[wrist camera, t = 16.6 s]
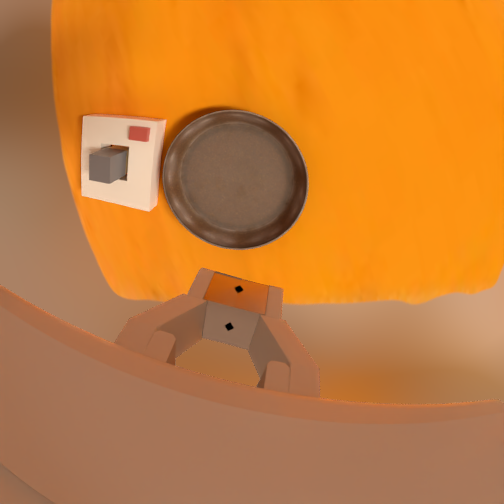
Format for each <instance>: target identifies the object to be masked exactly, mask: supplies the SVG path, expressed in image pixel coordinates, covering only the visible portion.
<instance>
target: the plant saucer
mask: <svg viewBox="0 0 504 504" xmlns="http://www.w3.org/2000/svg"><path fill="white" fill-rule="evenodd" d="M308 185H309V182H308V172H307V167H306V163H305V160H304V158H303V155H302V153H301V151H300V149H299V148H298V146H297V144H296V143H295V141H294V140H293V139H292V138H291V136H290V135H289V134H288V133H287V132H286V131H285V130H284V129H282V128H281V127H280V126H279V125H277V124H276V123H274V122H273V121H271V120H269V119H267V118H265V117H263V116H261V115H258V114H255V113H252V112H247V111H241V110H223V111H217V112H213V113H209V114H207V115H204V116H202V117H200V118H198V119H196V120H194V121H193V122H191V123H190V124H188V125H187V126H186V127H185V128H184V129H183V130H182V131H181V132H180V133H179V134H178V135H177V136H176V138H175V139H174V141H173V142H172V143H171V145H170V147H169V149H168V152H167V154H166V157H165V161H164V166H163V187H164V192H165V196H166V199H167V202H168V204H169V206H170V208H171V210H172V212H173V213H174V215H175V216H176V218H177V219H178V220H179V222H180V223H181V224H182V225H183V226H184V227H185V228H186V229H187V230H188V231H189V232H191V233H192V234H193V235H195V236H196V237H198V238H199V239H201V240H203V241H205V242H207V243H209V244H211V245H214V246H217V247H221V248H225V249H234V250H246V249H253V248H258V247H261V246H264V245H267V244H269V243H271V242H273V241H275V240H277V239H278V238H280V237H281V236H283V235H284V234H285V233H286V232H287V231H289V230H290V229H291V228H292V226H293V225H294V224H295V223H296V221H297V220H298V218H299V217H300V215H301V213H302V211H303V209H304V206H305V203H306V200H307V195H308Z"/></svg>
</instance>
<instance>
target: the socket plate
mask: <svg viewBox="0 0 504 504" xmlns="http://www.w3.org/2000/svg"><path fill="white" fill-rule="evenodd" d="M165 126H166V120H164V119H156V118H147V117H136V116H124V115H109V114H91V115H86V116H83V126H82V147H81V185H82V196H86V197H90V198H94V199H99V200H103V201H107V202H111V203H116V204H120V205H124V206H128V207H132V208H137V209H141V210H145V211H150V210H152V209H153V208H154V207H155V206H156V205H157V201H158V188H159V177H160V167H161V157H162V149H163V141H164V133H165ZM111 144H112V145H120V146H128V147H129V156H128V173H127V174H125V176H123V177H121V178H119V179H118V180H116V181H114V182H112V183H111V184H107V183H102V182H97V181H92V180H89V154H91V153H94V152H96V151H99V150H101V149H104V148H109V147H111Z"/></svg>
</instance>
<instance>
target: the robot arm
mask: <svg viewBox="0 0 504 504" xmlns="http://www.w3.org/2000/svg"><path fill="white" fill-rule="evenodd" d="M282 302H283V289H282V288H279V287H274V286H270V285H269V286H268V285H264V284H260V283H256V282H252V281H248V280H244V279H241V278H237V277H234V276H230V275H227V274H223V273H220V272H216V271H212V270H209V269H205V268H201V269H200V270H199V272H198V274H197V276H196V278H195V280H194V282H193V284H192V286H191V288H190V290H189V292H188V294H187V295H186V294H182V295H179V296H177V297H175V298H173V299H171V300H169V301H166V302H164V303H162V304H160V305H158V306H156V307H153V308H151V309H149V310H147V311H145V312H143V313H140V314H138V315H136V316H134V317H131V318H129V320H128V321H127V323H126V325H125V326H124V328H123V330H122V331H121V333H120V334H119V336H118V337H117V339H116V341H115V342H114V343H112V342H109V341H107V340H105V339H102V338H100V337H98V336H95V335H93V334H91V333H88V332H87V331H84V330H82V329H80V328H78V327H76V326H74V325H72V324H70V323H68V322H65V321H63V320H61V319H59V318H58V317H56V316H54V315H52V314H50V313H48V312H46V311H44V310H42V309H41V308H39V307H37V306H35V305H33V304H32V303H30V302H28V301H26V300H24V299H23V298H21V297H19V296H18V295H16V294H15V293H13V292H11V291H9V290H8V289H6V288H5V287H3V286H2V285H0V504H504V403H503V402H502V401H501V400H499V399H489V400H482V401H472V402H461V403H446V404H445V403H444V404H382V403H365V402H352V401H341V400H332V399H324V398H320V376H319V368H318V366H317V365H316V363H315V362H314V361H313V359H312V358H311V356H310V355H309V353H308V352H307V351H306V349H305V348H304V346H303V345H302V344H301V342H300V341H299V339H298V338H297V337H296V335H295V334H294V332H293V331H292V329H291V328H290V327H289V325H288V324H287V322H286V321H285V320H282V319H281V314H282ZM202 338H205V339H209V340H213V341H217V342H221V343H225V342H226V343H225V344H229V345H232V346H236V347H239V348H243V349H247V350H248V352H249V354H250V357H251V359H252V361H253V363H254V366H255V368H256V370H257V373H258V375H259V377H260V381H259V382H258V384H257V387H254V386H249V385H245V384H240V383H236V382H232V381H228V380H224V379H220V378H216V377H212V376H209V375H205V374H201V373H198V372H194V371H191V370H188V369H184V368H181V367H178V366H175V358H177V357H178V356H179V355H181V354H182V353H183V352H185V351H186V350H187V349H189V348H190V347H192V346H193V345H194V344H196V343H197V342H198V341H200V340H201V339H202Z"/></svg>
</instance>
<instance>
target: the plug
mask: <svg viewBox="0 0 504 504" xmlns="http://www.w3.org/2000/svg"><path fill="white" fill-rule="evenodd" d="M128 156H129V147H126V146H118V145H115V146H112V147H109V148H104V149H101V150H99V151H96V152H94V153H91V154H89V180H92V181H97V182H102V183H107V184H111V183H112V182H114V181H116V180H118V179H119V178H121V177H123V176H125V174H127V173H128Z"/></svg>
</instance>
